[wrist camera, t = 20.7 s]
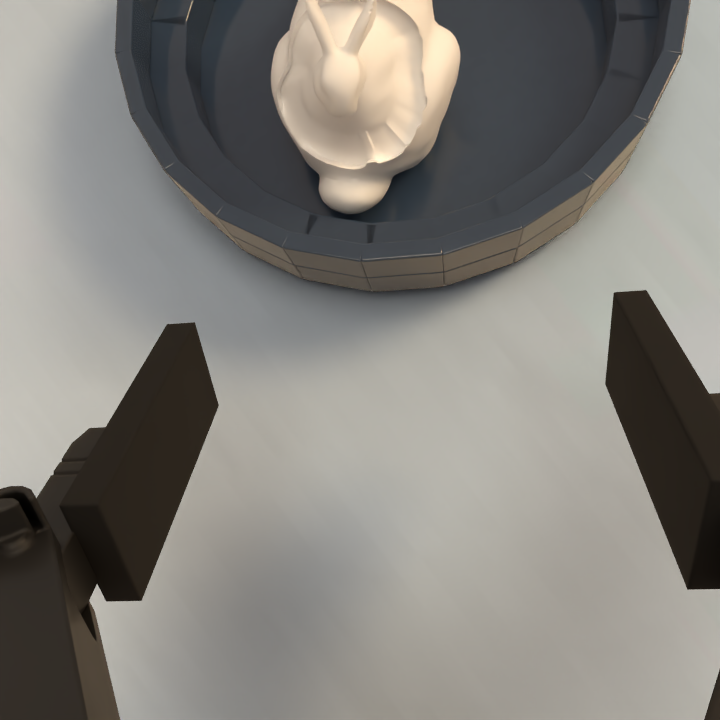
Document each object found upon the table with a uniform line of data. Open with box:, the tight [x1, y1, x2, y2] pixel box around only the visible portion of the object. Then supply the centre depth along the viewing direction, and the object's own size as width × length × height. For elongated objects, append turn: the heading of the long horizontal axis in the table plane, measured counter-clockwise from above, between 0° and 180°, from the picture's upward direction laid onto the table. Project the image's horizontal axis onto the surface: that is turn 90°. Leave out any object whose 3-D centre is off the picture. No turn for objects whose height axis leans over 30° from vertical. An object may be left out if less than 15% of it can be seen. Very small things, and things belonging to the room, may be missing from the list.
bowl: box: [115, 0, 691, 292], centre depth 25 cm, size 19×19×4 cm
